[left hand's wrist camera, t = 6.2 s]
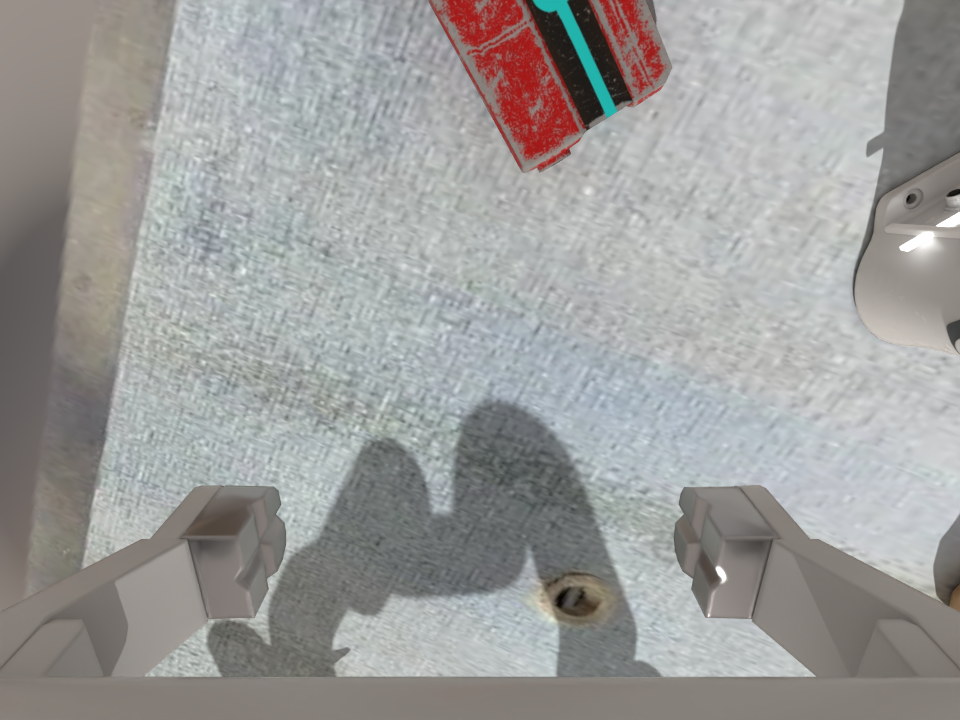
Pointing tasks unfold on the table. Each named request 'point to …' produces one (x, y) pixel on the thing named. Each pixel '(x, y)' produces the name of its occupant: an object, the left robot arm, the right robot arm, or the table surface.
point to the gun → (555, 66)
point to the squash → (955, 599)
